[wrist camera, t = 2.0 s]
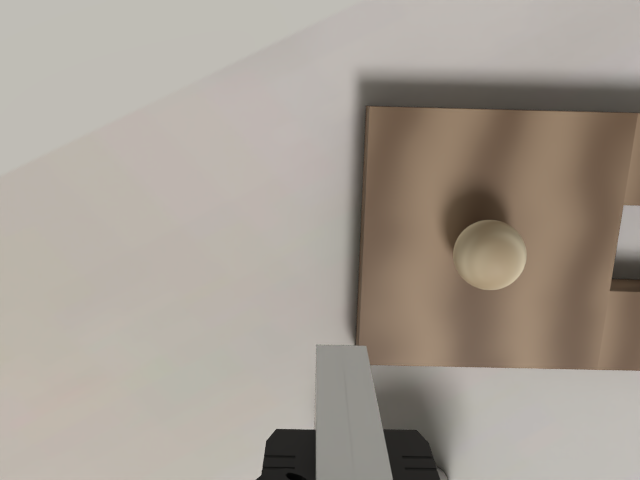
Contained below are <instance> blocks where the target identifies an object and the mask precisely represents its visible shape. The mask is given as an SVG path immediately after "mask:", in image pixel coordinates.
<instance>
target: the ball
mask: <svg viewBox="0 0 640 480" xmlns="http://www.w3.org/2000/svg"><path fill="white" fill-rule="evenodd" d="M526 256H527V254H526V247H525V244H524V241H523V239H522V237H521V236H520V234H519V233H518V232H517V231H516V230H515V229H514V228H513V227H511V226H510V225H508V224H506V223H504V222H501V221H497V220H482V221H478V222H476V223H473V224H471V225H470V226H468V227H467V228H466V229H464V230H463V231H462V232H461V234H460V235H459V237H458V238H457V240H456V242H455V245H454V250H453V259H454V264H455V267H456V269H457V271H458V273H459V275H460V276H461V277H462V278H463V279H464V280H465V281H466V282H467V283H469V284H470V285H472V286H474V287H476V288H479V289H483V290H497V289H501V288H504V287H506V286H508V285H510V284H511V283H513V282H514V281H515V280H516V279H517V278H518V277H519V276H520V274H521V273H522V271H523V269H524V267H525V264H526Z"/></svg>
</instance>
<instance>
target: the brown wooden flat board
mask: <svg viewBox="0 0 640 480" xmlns="http://www.w3.org/2000/svg"><path fill="white" fill-rule="evenodd" d="M623 205H640V113H627V112H588V111H548V110H509V109H470V108H431V107H391V106H366V120H365V143H364V166H363V189H362V211H361V234H360V257H359V280H358V303H357V326H356V346H366V347H367V352H368V357H369V362H370V365H396V366H444V367H491V368H539V369H587V370H634V371H640V280H633V279H612V274H613V267H614V261H615V255H616V249H617V242H618V236H619V230H620V223H621V217H622V211H623ZM482 220H497V221H501V222H504V223H506V224H508V225H510V226H511V227H513V228H514V229H515V230H516V231H517V232H518V233H519V234H520V236H521V237H522V239H523V241H524V244H525V247H526V254H527V256H526V264H525V267H524V269H523V271H522V273H521V274H520V276H519V277H518V278H517V279H516V280H515V281H514V282H513V283H511V284H510V285H508V286H506V287H504V288H501V289H497V290H483V289H479V288H476V287H474V286H472V285H470V284H469V283H467V282H466V281H465V280H464V279H463V278H462V277H461V276H460V275H459V273H458V271H457V269H456V267H455V264H454V259H453V250H454V245H455V242H456V240H457V238H458V237H459V235H460V234H461V232H462V231H463V230H464V229H466V228H467V227H468V226H470V225H471V224H473V223H476V222H478V221H482Z"/></svg>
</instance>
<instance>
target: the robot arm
mask: <svg viewBox="0 0 640 480" xmlns="http://www.w3.org/2000/svg"><path fill="white" fill-rule="evenodd" d="M256 480H440V477H439V474H438V471H437V468H436V464H435V461H434V459H433V455H432V452H431V449H430V446H429V443H428V442H427V441H426V440H425V439H424V437H423V436H422V435H421V434H420V433H419V432H418V431H417V430H383V427H382V422H381V417H380V412H379V407H378V402H377V397H376V392H375V387H374V382H373V377H372V372H371V367H370V362H369V357H368V352H367V347H366V346H350V345H316V378H315V418H314V430H300V429H276V430H275V431H274V432H273V434H272V435H271V436H270V437H269V439H268V440H267V441H266V447H265V454H264V461H263V470H262V475H261V476H260V477H259V478H257V479H256Z"/></svg>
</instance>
